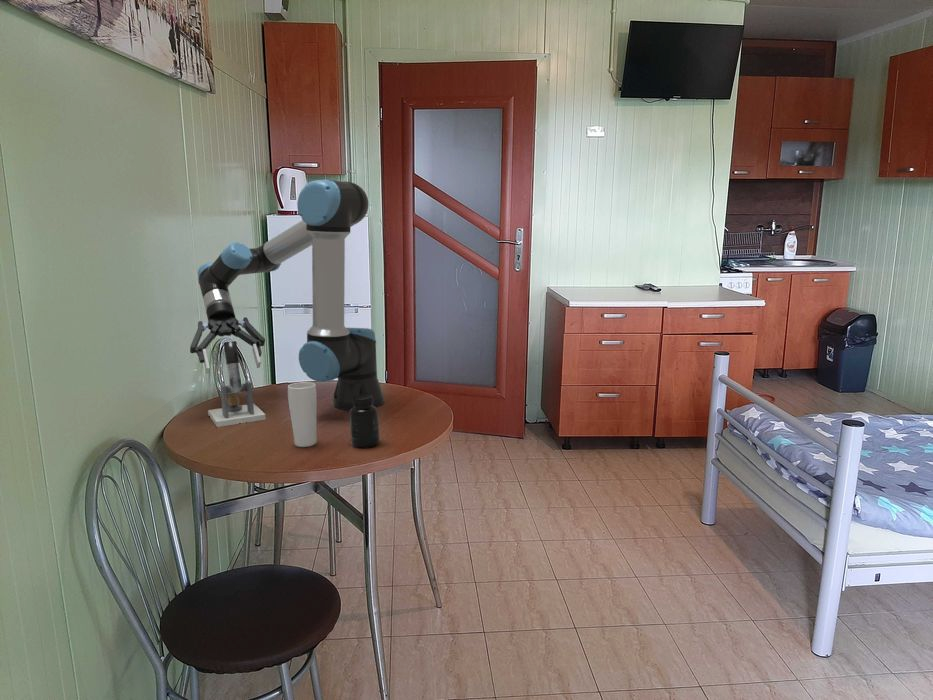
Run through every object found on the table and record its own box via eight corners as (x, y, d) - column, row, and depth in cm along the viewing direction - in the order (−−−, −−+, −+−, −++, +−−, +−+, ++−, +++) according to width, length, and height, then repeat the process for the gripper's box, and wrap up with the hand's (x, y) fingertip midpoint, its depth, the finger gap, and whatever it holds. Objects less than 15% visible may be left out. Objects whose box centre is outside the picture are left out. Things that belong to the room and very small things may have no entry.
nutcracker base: (208, 415, 196) (205, 379, 194) (254, 408, 202) (251, 373, 200) (217, 427, 184) (213, 389, 182) (265, 419, 190) (262, 383, 188)
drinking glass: (324, 445, 167) (320, 385, 164) (297, 450, 163) (293, 389, 160) (313, 438, 172) (309, 380, 170) (287, 443, 169) (283, 384, 166)
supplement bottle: (370, 438, 172) (368, 391, 169) (384, 444, 166) (382, 396, 164) (346, 443, 167) (343, 396, 165) (360, 450, 162) (357, 401, 160)
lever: (222, 395, 194) (215, 346, 195) (241, 392, 197) (234, 344, 198) (227, 393, 186) (221, 342, 187) (247, 390, 188) (240, 340, 189)
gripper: (261, 313, 207) (277, 370, 197) (173, 320, 195) (185, 381, 185) (264, 297, 202) (280, 355, 192) (173, 303, 190) (186, 365, 180)
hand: (234, 368), depth 189 cm, fingers open, 13 cm apart
